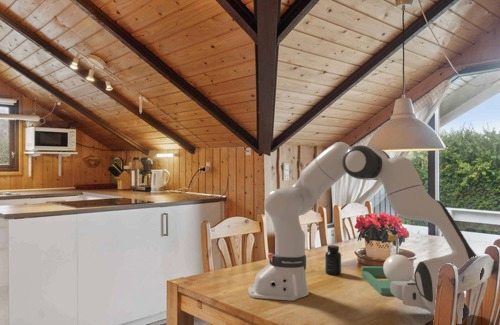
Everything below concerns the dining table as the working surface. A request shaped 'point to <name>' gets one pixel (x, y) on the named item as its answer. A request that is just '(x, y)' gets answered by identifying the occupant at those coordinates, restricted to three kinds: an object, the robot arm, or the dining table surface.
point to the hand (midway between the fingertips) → (413, 282)
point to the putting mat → (379, 274)
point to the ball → (398, 268)
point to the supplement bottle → (333, 260)
